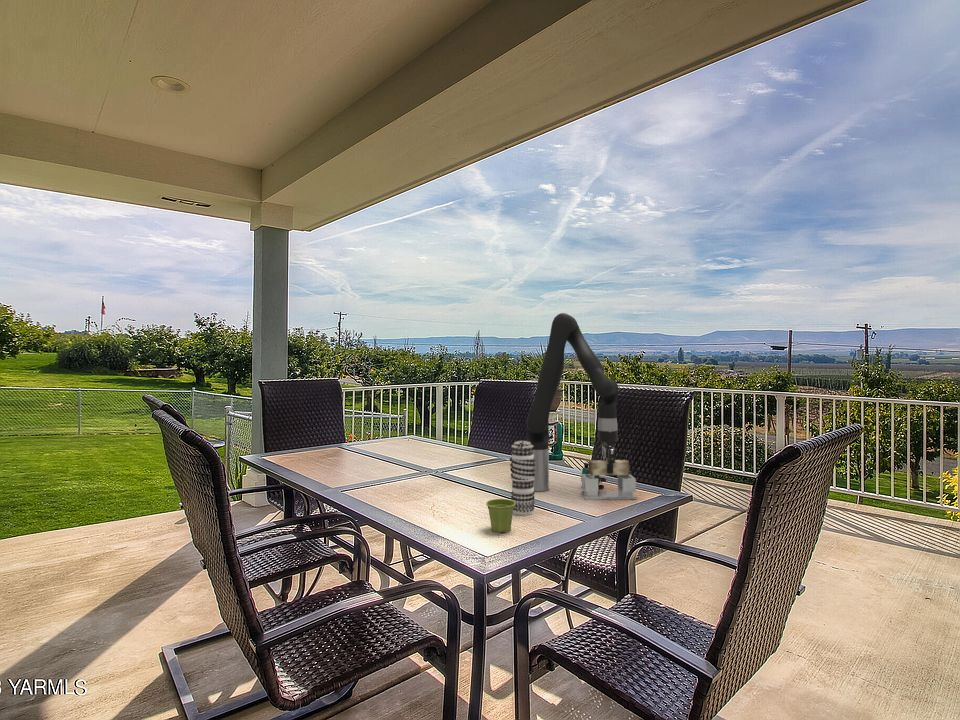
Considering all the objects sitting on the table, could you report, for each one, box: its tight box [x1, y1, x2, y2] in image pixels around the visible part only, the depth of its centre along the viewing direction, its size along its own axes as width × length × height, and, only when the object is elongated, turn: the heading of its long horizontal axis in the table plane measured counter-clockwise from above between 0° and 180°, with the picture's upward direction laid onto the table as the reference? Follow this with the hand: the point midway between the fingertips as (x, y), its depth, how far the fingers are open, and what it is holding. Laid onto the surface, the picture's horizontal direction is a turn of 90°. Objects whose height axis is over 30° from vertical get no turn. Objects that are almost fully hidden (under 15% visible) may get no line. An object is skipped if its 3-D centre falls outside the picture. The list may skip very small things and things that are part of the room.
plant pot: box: [485, 498, 516, 533], centre depth 158 cm, size 9×9×9 cm
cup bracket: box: [580, 473, 638, 500], centre depth 197 cm, size 20×8×8 cm, turn 88°
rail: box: [588, 459, 630, 476], centre depth 197 cm, size 15×4×5 cm, turn 89°
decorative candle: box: [509, 440, 536, 516], centre depth 178 cm, size 9×9×25 cm
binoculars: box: [580, 462, 607, 489], centre depth 211 cm, size 9×11×10 cm
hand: (608, 471), depth 197 cm, fingers closed on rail, 4 cm apart
